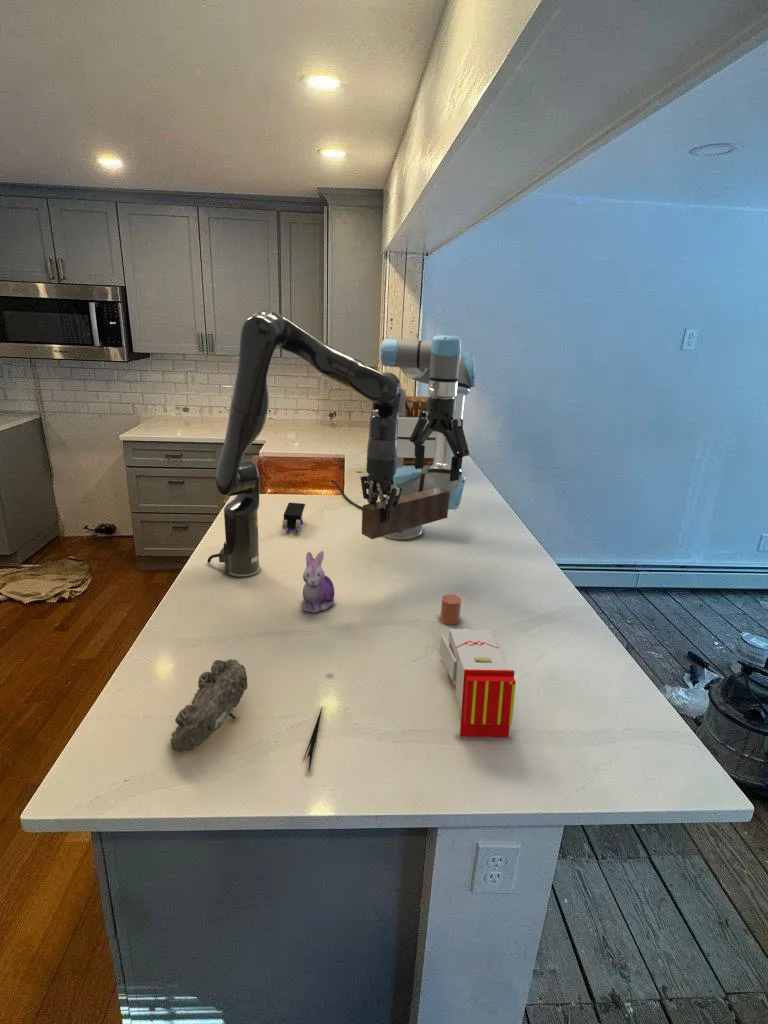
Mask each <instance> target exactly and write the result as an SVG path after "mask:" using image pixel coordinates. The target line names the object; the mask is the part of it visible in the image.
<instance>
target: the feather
mask: <svg viewBox="0 0 768 1024" xmlns="http://www.w3.org/2000/svg"><path fill="white" fill-rule="evenodd" d="M329 675H330V676H331V675H332V674H331V673H330V674H329ZM322 710H323V707H321V708H320V710H319V713H318V716H317V719H316V723H315V725H314V728H313V731H312V733H311V737H310V739H309V742H308V745H307V748H306V751H305V754H304V757H303V760H302V763H301V767H302V765H303V763H304V761H305V758H308V759H309V760H308V762H307V763H308V764H307V766H308V771H310V770H311V766H312V765H311V764H312V760H313V757H315V756H314V755H315V751H316V749H315V746H317V739H318V733H319V729H320V722H321V717H322V712H323V711H322ZM313 754H314V755H313ZM306 755H307V757H306Z"/></svg>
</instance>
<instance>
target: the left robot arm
mask: <svg viewBox="0 0 768 1024" xmlns="http://www.w3.org/2000/svg"><path fill="white" fill-rule="evenodd" d="M278 349H279V350H283V351H286V352H290V353H292V354H294V355H296V356H298V357H299V358H302V359H303V360H304V361H306V362H307V363H308V364H309V365H311V366H312V367H313V369H315V370H317V371H318V372H319V373H320V374H321V375H323V376H325V377H326V378H328V379H329V380H332V381H334V382H336V383H338V384H340V385H343V386H345V387H347V388H350V389H352V390H353V391H355V392H357V393H358V394H359V395H361V396H363V397H364V398H365V399H367V400H369V401H371V402H372V410H371V414H370V418H369V424H368V440H367V448H366V469H365V470H366V473H367V475H362V476H360V483H361V484H360V485H361V490H362V498H363V499H364V500H367V501H366V502H367V504H370V503H374V502H378V499H379V501H381V503H382V508H383V509H382V516H381V522H383V523H386V522H389V520H390V512H391V509H392V508H396V507H397V505H398V502H399V498H400V495H401V492H402V488H401V487H396V486H395V485H394V481H393V477H394V475H395V474H396V466H397V430H398V410H399V403H400V395H401V388H402V384H401V381H400V379H399V377H398V376H396V374H394V373H392V372H388V371H387V372H380V371H378V370H376V369H374V368H372V367H370V366H367V364H366V363H365V362H363V361H362V360H361V359H359V358H357V357H355V356H353V355H351V354H348V353H347V352H344V351H342V350H341V349H338V348H336V347H334V346H332V345H330V344H328V343H326V342H324V341H322V340H320V339H319V338H317V337H315V336H314V335H312V334H310V333H309V332H307V331H306V330H305V329H302V328H301V327H299V326H298V325H296V324H295V323H293V322H292V321H291V320H289V319H288V318H287V317H285V316H283V315H282V314H281V313H278V312H277V311H275V310H271V309H264V310H260V311H258V312H256V313H254V314H253V315H250V316H249V317H248V318H246V319H245V321H244V322H243V324H242V326H241V329H240V338H239V355H238V366H237V367H238V368H237V373H236V376H235V382H234V387H233V393H232V397H231V402H230V406H229V407H230V408H229V412H228V422H227V426H226V433H225V437H224V440H223V441H224V442H223V445H222V449H221V452H220V455H219V459H218V462H217V466H216V470H215V484H216V489H217V491H218V493H220V494H221V495H223V496H224V497H232V496H235V497H234V498H233V499H232V500H231V501H229V503H227V504H226V505H225V506H224V508H223V517H224V518H223V519H224V535H225V541H224V543H223V547H222V548H221V550H220V551H219V553H214V554H212V555H210V556H208V558H207V561H206V563H207V564H210V563H211V561H212V559H214V558H218V562H219V563H223V564H224V574H225V575H229V576H231V577H236V578H245V577H251V576H254V575H256V574H258V573H259V572H260V570H261V568H260V567H261V565H260V549H259V547H260V546H259V521H258V520H259V519H258V517H259V515H258V510H259V508H260V492H261V491H260V487H261V479H260V472H259V468H258V466H257V464H256V463H255V462H254V461H253V460H252V459H243V457H244V456H245V454H246V452H247V450H248V449H250V447H251V446H252V444H253V443H254V442H255V441H256V439H257V438H258V437H259V436H260V434H261V433H262V431H263V430H264V427H265V425H266V421H267V415H268V411H269V404H270V399H269V398H270V397H269V389H268V384H267V383H268V373H269V368H270V365H271V362H272V358H273V356H274V353H275V352H276V350H278ZM387 494H388V495H387ZM386 495H387V496H386ZM386 500H387V502H388V504H386Z"/></svg>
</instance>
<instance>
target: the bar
mask: <svg viewBox="0 0 768 1024" xmlns="http://www.w3.org/2000/svg"><path fill="white" fill-rule="evenodd" d="M449 494H450V491H447V490H445V489H442V488H439V487H438V488H434V489H430V490H425V491H421V492H417V493H413V494H408V495H404V496H400V498H399V502H398V505H397V507H396V508H392V509H391V512H390V520H389V522H386V523H383V522H381V516H382V509H383V508H382V503H381V501H380V500H379V501H377V502H374V503H370V504H369V503H365V504H362V507H363V508H362V509H361V535H363V536H365V537H367V538H369V539H370V540H375V539H379V538H381V537H382V538H383V537H384V536H386V535H389V534H393V533H396V532H400V531H403V530H406V529H410V528H413V527H417V526H420V525H422V526H424V525H427V524H431V523H434V522H437V521H441V520H445V519H447V518H448V516H449V515H448V514H449V510H448V505H449ZM386 504H388V502H387V500H386Z"/></svg>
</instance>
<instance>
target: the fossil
mask: <svg viewBox="0 0 768 1024" xmlns="http://www.w3.org/2000/svg"><path fill="white" fill-rule="evenodd" d="M197 683H198V684H197V687H198V690H197V691H196V693H195V694H194V697H193V698H192V701H191V704H187V705H185V706H184V707H183V708H182V709H181V710H179V712H178V713H177V715H176V717H175V719H174V721H175V723H176V725H177V726H176V728H175V730H174V731H173V732H172V733H171V735H170V736H171V738H170V747H171V750H172V751H176V752H178V753H186V752H190V751H193V752H195V751H197V750H198V749H199V748H200V747H201V746H202V745H203V744H204V743H205V742H207V741H208V740H209V739H210V737H211V736H212V735H213V734H215V733H216V731H218V730H219V729H220V728H221V726H222V725H223V723H224V721H225V720H226V719H227V718H228V717H230V718H232V720H235V719H236V716H235V715H234V714H233V713H232V710H233V709H235V708H237V706H238V705H239V704H240V702H241V700H242V698H243V696H244V693H245V691H246V690H247V689H248V686H249V685H248V675H247V669H246V668H245V666H244V665H243V664H241V663H240V661H238V660H237V659H236V658H234V659H232V658H230V659H226V660H221V659H216V660H214V661H213V662H212V665H211V667H210V671H208V670H207V671H205V672H201V674H200V675H199V676H198V681H197Z"/></svg>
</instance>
